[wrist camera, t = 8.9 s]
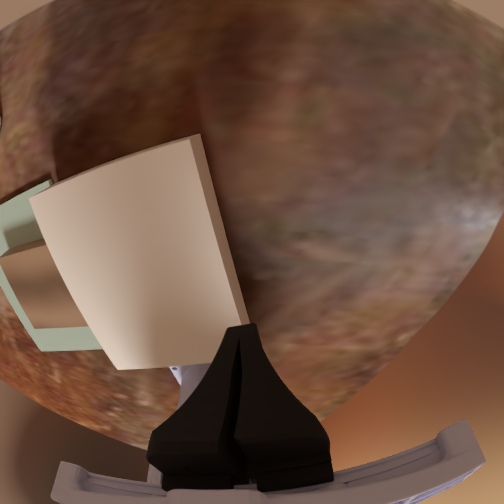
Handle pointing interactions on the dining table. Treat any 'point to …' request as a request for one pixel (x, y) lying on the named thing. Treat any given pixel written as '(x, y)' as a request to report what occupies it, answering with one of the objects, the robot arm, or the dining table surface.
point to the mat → (3, 238)
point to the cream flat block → (146, 255)
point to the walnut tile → (40, 287)
